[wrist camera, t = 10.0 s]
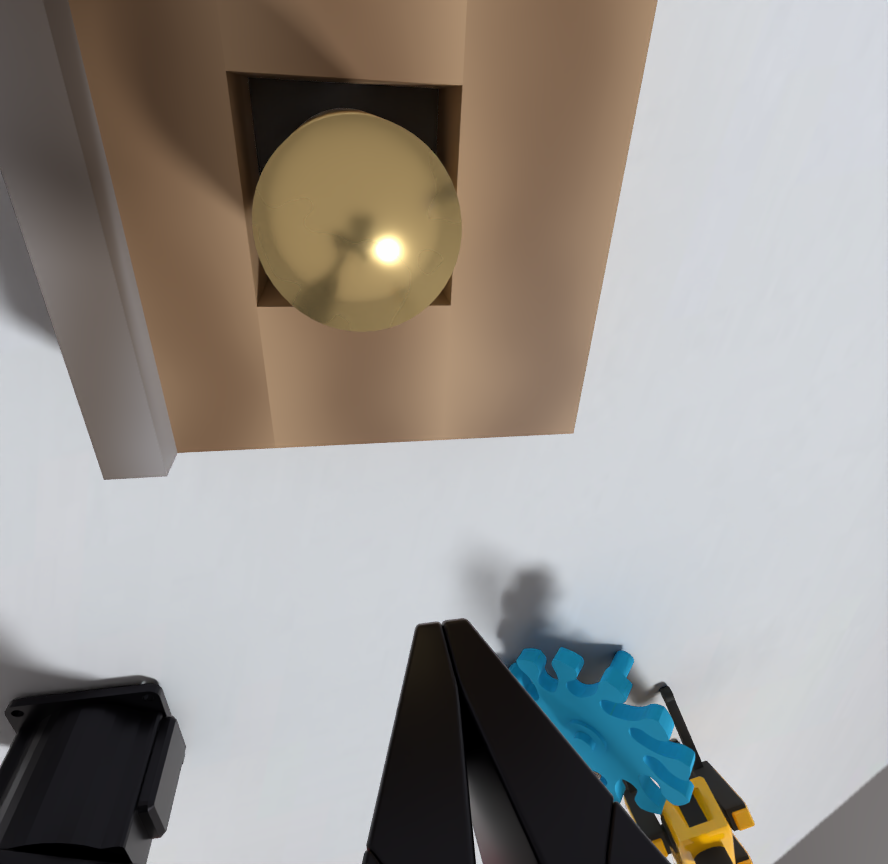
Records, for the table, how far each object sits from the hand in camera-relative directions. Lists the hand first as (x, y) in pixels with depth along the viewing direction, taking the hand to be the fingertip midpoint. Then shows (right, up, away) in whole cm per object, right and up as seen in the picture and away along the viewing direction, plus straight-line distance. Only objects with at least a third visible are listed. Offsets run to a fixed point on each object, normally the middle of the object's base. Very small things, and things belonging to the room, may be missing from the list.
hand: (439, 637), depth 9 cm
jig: (-3, +11, +7) cm, 13 cm away
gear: (+7, -10, +22) cm, 25 cm away
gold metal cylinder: (-3, +11, +7) cm, 13 cm away
